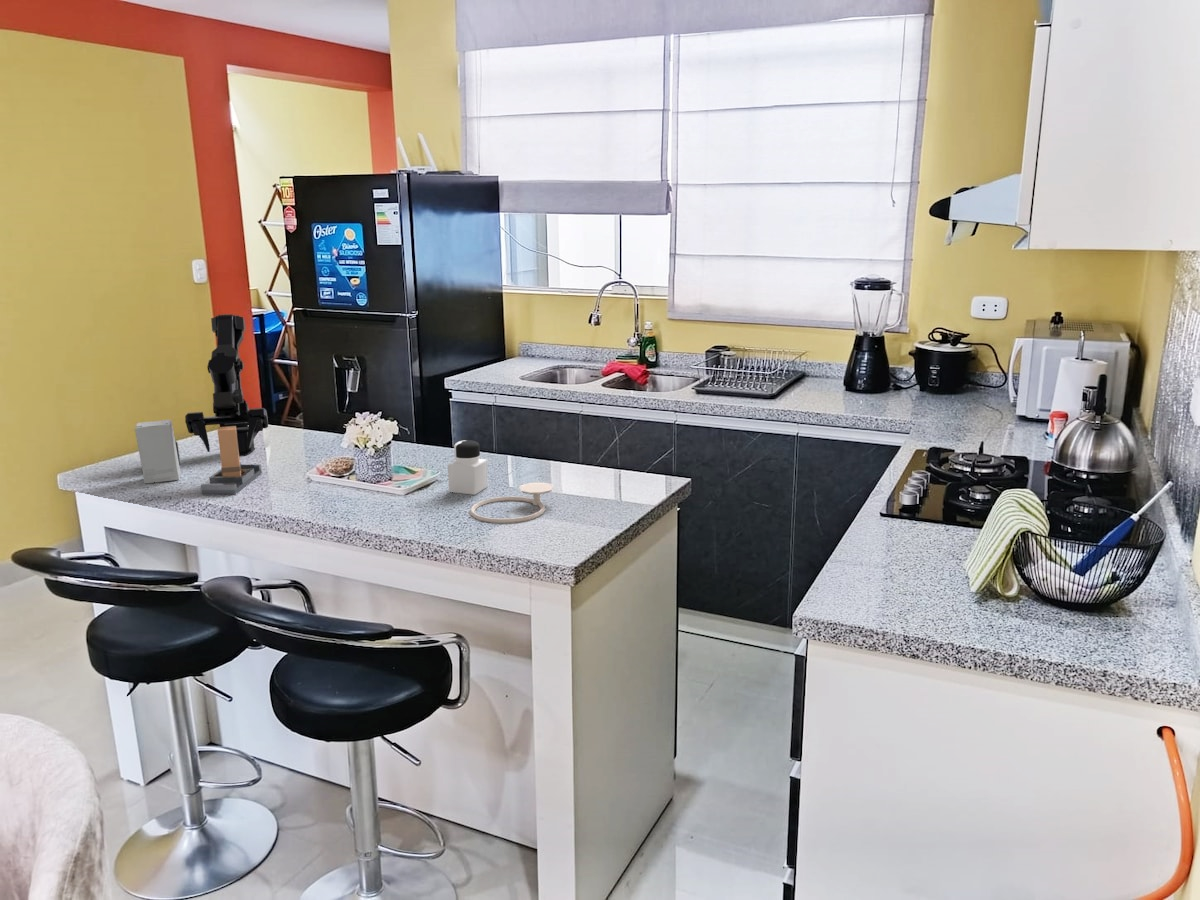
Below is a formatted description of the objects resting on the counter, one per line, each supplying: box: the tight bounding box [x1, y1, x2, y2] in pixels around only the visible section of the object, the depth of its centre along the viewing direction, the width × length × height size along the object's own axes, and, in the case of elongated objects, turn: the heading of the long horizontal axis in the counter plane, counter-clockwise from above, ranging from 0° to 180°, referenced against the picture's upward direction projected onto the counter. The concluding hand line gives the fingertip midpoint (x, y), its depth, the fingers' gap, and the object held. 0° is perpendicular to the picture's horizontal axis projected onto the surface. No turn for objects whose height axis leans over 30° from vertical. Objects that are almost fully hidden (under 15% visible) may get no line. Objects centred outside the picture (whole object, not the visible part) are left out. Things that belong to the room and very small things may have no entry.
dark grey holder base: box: [200, 464, 263, 495], centre depth 227 cm, size 8×18×3 cm, turn 0°
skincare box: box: [134, 419, 181, 484], centre depth 229 cm, size 8×6×15 cm
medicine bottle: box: [447, 439, 489, 496], centre depth 220 cm, size 7×7×12 cm
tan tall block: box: [217, 426, 242, 477], centre depth 225 cm, size 4×4×13 cm
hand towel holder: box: [469, 482, 555, 524], centre depth 207 cm, size 17×4×21 cm
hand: (228, 449), depth 224 cm, fingers open, 9 cm apart
